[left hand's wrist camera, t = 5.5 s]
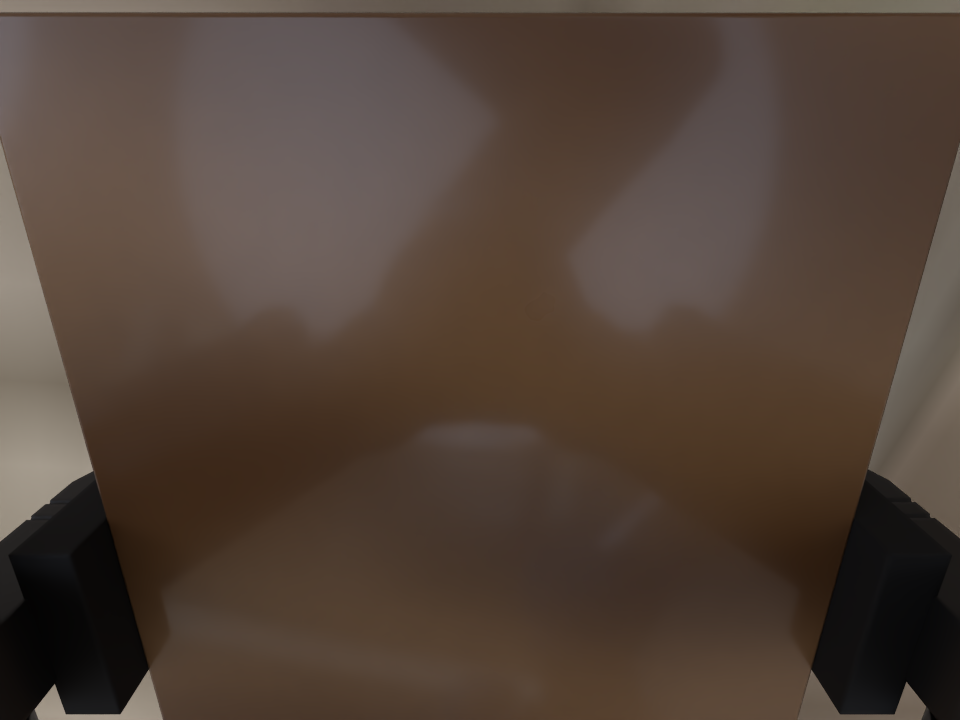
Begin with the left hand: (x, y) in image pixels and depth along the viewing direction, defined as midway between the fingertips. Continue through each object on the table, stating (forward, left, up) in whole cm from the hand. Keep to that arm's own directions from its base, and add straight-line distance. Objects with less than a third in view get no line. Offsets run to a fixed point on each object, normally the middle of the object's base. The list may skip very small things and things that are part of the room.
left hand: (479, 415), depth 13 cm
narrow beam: (+2, +21, -1) cm, 21 cm away
